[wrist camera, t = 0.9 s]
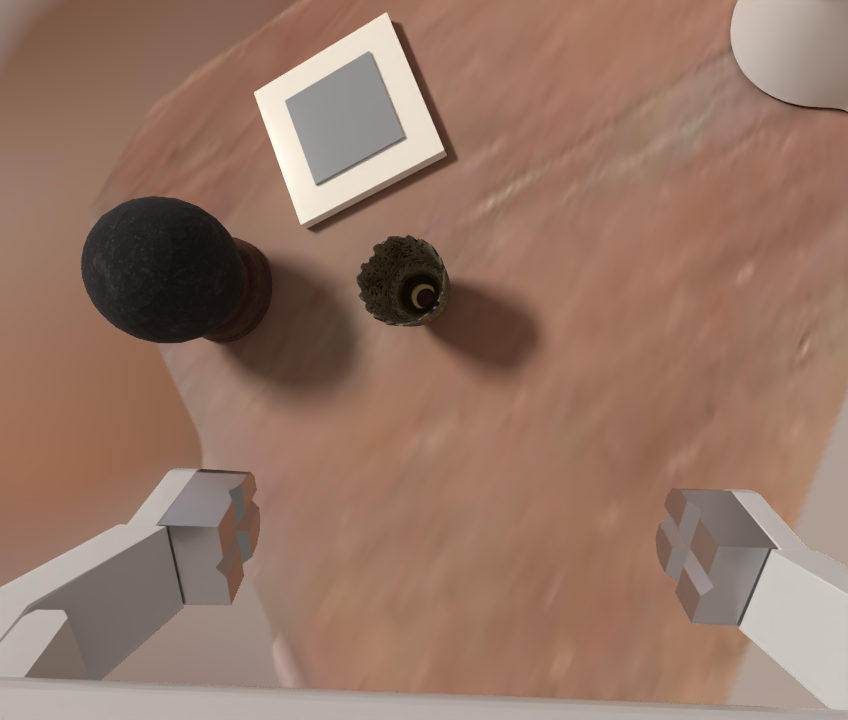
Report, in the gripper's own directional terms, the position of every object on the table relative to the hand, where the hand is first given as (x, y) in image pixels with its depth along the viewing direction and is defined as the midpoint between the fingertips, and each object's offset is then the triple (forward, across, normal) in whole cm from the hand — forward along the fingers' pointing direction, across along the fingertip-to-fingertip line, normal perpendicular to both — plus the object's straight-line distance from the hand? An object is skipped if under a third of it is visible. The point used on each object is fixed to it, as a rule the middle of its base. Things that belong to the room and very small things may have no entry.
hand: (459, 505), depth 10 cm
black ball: (+45, +22, +10) cm, 51 cm away
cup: (+39, +1, +8) cm, 40 cm away
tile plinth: (+49, +10, -7) cm, 51 cm away
